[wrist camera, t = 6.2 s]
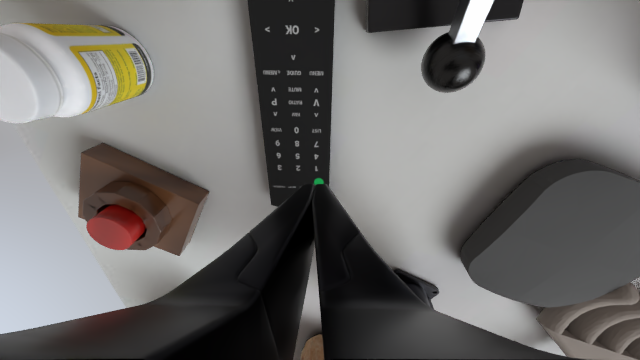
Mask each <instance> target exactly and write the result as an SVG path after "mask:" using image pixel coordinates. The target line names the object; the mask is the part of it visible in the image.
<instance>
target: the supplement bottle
mask: <svg viewBox="0 0 640 360" xmlns="http://www.w3.org/2000/svg"><path fill="white" fill-rule="evenodd" d="M153 78H154V70H153V65H152V62H151V59H150V57H149V55H148V53H147V52H146V50H145V49H144V47H143V46H142V45H141V44H140V43H139V42H138V41H137V40H136V39H135V38H134V37H132V36H131V35H130V34H128V33H127V32H125V31H123V30H121V29H119V28H116V27H112V26H103V25H66V24H33V23H11V24H6V25H2V26H0V120H2V121H6V122H10V123H26V122H30V121H34V120H39V119H44V118H48V117H50V116H56V117H72V116H77V115H80V114H83V113H87V112H90V111H93V110H96V109H99V108H102V107H105V106H108V105H112V104H115V103H118V102H121V101H124V100H127V99H130V98H133V97H136V96H139V95H142V94H144V93H145V92H147V91H148V90H149V88H150V87H151V85H152V83H153Z"/></svg>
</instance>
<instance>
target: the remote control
mask: <svg viewBox="0 0 640 360" xmlns="http://www.w3.org/2000/svg"><path fill="white" fill-rule="evenodd" d="M248 7H249V16H250V25H251V33H252V42H253V51H254V59H255V68H256V77H257V85H258V94H259V102H260V111H261V120H262V128H263V137H264V146H265V154H266V163H267V172H268V180H269V189H270V198H271V205H274V206H277V207H279V206H280V205H281V204H282V203H283V202H284V201H286V200H287V199H288V198H289V197H290V196H291V195H293V194H294V193H295V192H296V191H297V190H298V189H299V188H301V187H302V186H303V185H304V184H314V185H316V184H327V185H328V187H329V166H330V134H331V102H332V70H333V38H334V7H335V0H248Z"/></svg>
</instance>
